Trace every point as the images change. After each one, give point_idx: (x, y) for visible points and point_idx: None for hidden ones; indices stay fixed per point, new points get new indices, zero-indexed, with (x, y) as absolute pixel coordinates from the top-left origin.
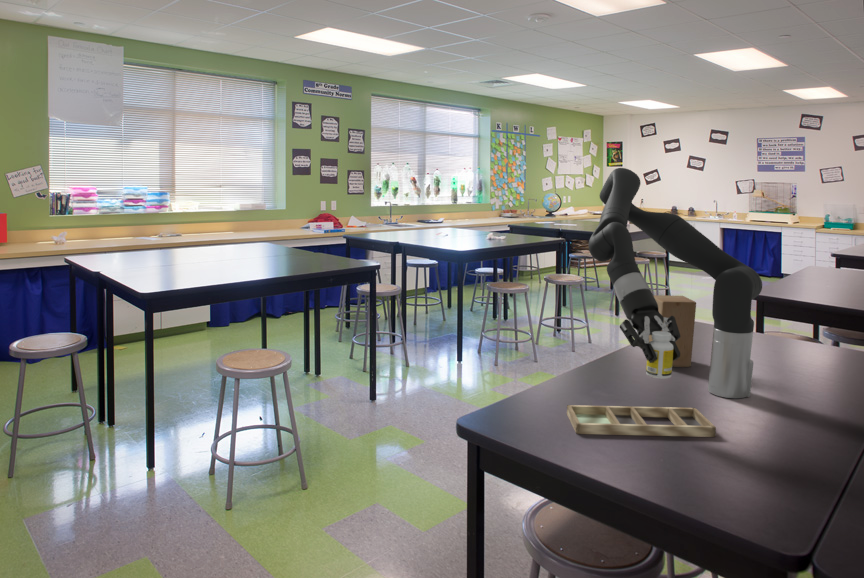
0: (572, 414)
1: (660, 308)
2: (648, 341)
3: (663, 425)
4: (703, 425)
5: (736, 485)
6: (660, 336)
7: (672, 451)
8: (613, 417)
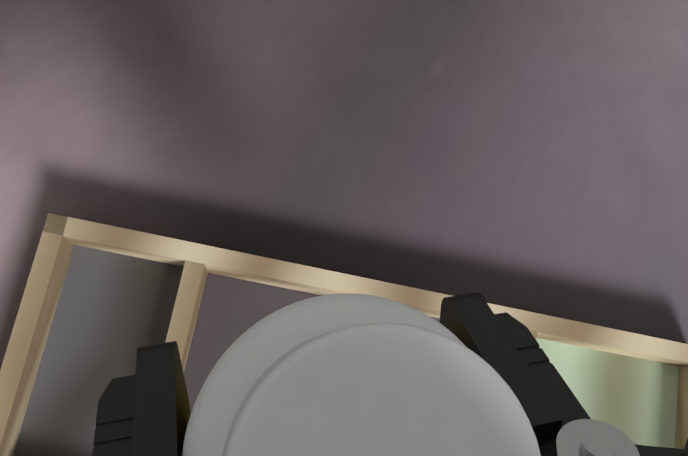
0: None
1: None
2: (567, 447)
3: (313, 277)
4: (46, 327)
5: None
6: (468, 350)
7: (355, 124)
8: None
